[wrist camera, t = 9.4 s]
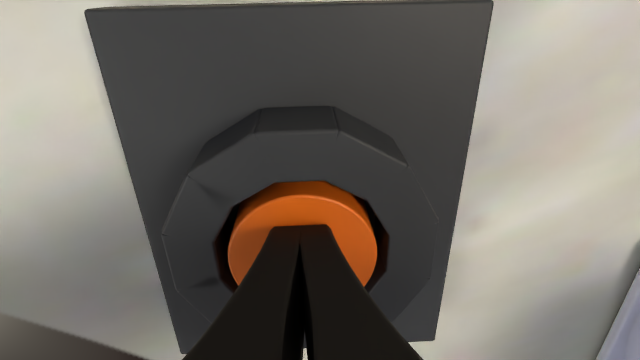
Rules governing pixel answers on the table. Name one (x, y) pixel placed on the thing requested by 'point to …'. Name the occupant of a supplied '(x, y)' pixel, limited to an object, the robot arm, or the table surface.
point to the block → (295, 131)
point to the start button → (303, 223)
